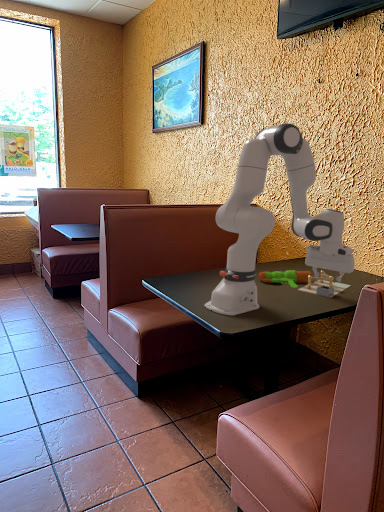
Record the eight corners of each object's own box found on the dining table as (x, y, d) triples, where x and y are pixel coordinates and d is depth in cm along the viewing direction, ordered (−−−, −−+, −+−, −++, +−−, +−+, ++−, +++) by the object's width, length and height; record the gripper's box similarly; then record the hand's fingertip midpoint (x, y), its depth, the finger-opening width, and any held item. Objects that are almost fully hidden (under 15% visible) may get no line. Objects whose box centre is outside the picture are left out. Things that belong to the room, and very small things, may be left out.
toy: (315, 283, 169) (311, 268, 182) (259, 281, 173) (258, 267, 186) (314, 296, 171) (310, 280, 185) (258, 294, 175) (258, 279, 189)
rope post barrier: (325, 293, 164) (326, 279, 163) (305, 288, 170) (307, 275, 169) (338, 286, 176) (340, 273, 175) (320, 281, 182) (321, 269, 181)
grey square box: (328, 297, 159) (329, 290, 159) (316, 294, 163) (317, 287, 162) (333, 294, 163) (334, 287, 163) (321, 291, 167) (322, 284, 166)
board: (329, 300, 159) (330, 297, 159) (296, 292, 168) (297, 289, 168) (350, 288, 177) (350, 286, 177) (319, 281, 187) (319, 279, 187)
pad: (345, 289, 172) (345, 288, 172) (330, 285, 176) (330, 285, 176) (350, 286, 177) (350, 285, 177) (336, 282, 182) (336, 282, 182)
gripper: (304, 245, 163) (301, 275, 166) (352, 252, 150) (348, 285, 154) (310, 243, 168) (307, 273, 171) (357, 250, 155) (353, 282, 158)
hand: (327, 279), depth 162 cm, fingers open, 8 cm apart
